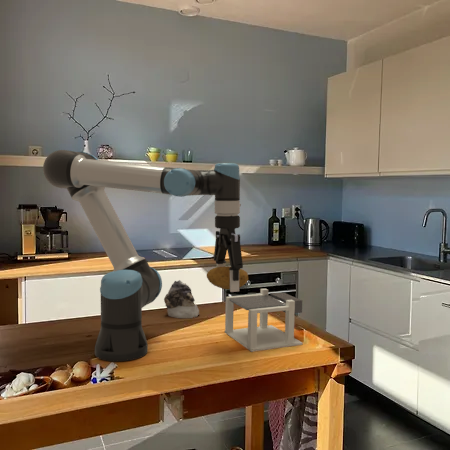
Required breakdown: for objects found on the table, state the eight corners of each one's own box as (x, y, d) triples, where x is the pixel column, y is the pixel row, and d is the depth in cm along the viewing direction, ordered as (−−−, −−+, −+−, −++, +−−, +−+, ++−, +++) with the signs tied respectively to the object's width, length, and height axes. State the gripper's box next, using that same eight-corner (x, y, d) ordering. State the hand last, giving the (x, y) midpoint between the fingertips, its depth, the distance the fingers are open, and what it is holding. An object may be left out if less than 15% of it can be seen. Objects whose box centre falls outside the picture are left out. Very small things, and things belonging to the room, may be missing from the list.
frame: (251, 351, 142) (252, 305, 141) (224, 332, 161) (225, 291, 159) (302, 344, 149) (304, 300, 148) (271, 326, 168) (272, 287, 167)
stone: (203, 316, 184) (204, 287, 176) (189, 332, 177) (189, 302, 169) (174, 303, 190) (173, 274, 182) (159, 318, 183) (157, 289, 174)
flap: (247, 319, 144) (248, 306, 144) (228, 308, 157) (228, 296, 157) (304, 313, 152) (304, 301, 152) (281, 303, 165) (281, 291, 165)
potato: (248, 292, 140) (248, 269, 140) (204, 291, 141) (204, 268, 140) (248, 285, 149) (248, 264, 149) (208, 285, 150) (208, 263, 150)
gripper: (254, 216, 134) (254, 294, 136) (224, 212, 155) (225, 280, 157) (230, 217, 132) (230, 296, 133) (203, 213, 152) (203, 281, 154)
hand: (227, 287), depth 145 cm, fingers closed on potato, 10 cm apart
